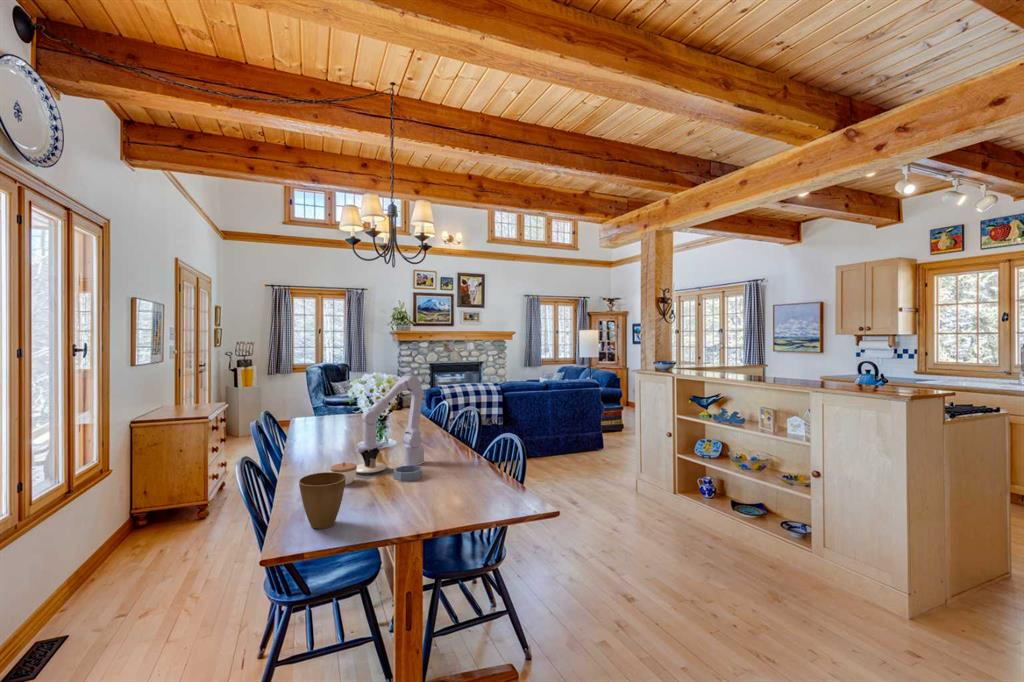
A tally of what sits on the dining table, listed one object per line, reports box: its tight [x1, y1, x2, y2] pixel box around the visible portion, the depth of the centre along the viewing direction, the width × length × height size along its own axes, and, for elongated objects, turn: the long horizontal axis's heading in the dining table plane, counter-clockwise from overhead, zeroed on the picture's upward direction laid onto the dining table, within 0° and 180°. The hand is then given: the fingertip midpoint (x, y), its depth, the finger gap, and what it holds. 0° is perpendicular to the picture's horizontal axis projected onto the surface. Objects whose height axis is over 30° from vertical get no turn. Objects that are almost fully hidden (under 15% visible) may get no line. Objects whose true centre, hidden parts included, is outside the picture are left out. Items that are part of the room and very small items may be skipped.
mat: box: [355, 467, 394, 480], centre depth 226 cm, size 18×18×1 cm
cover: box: [356, 458, 387, 473], centre depth 226 cm, size 15×15×4 cm
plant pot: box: [298, 471, 346, 529], centre depth 164 cm, size 15×15×16 cm
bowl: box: [393, 465, 423, 483], centre depth 218 cm, size 12×12×4 cm
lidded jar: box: [330, 461, 358, 486], centre depth 208 cm, size 11×11×9 cm
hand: (370, 465), depth 226 cm, fingers closed on cover, 2 cm apart
